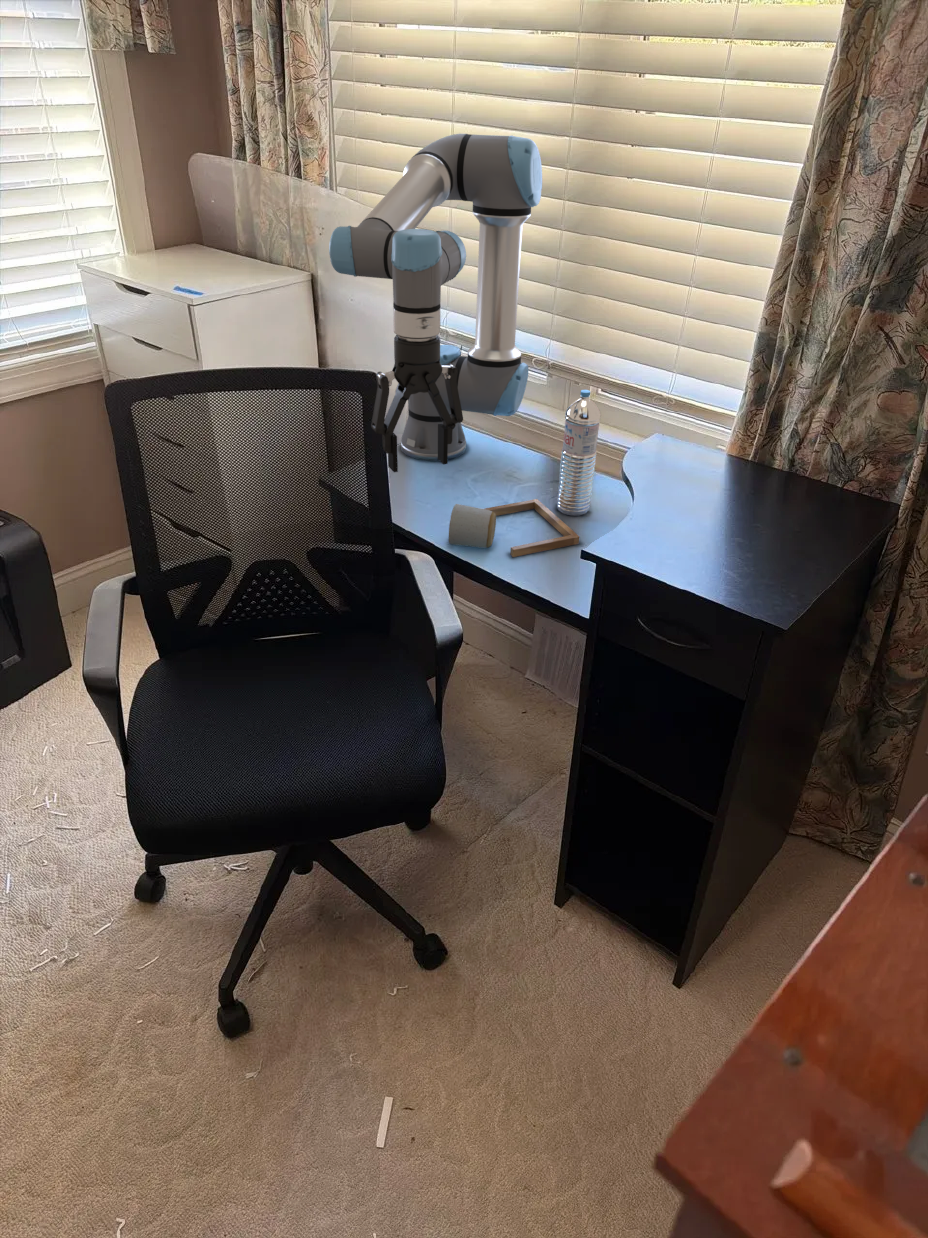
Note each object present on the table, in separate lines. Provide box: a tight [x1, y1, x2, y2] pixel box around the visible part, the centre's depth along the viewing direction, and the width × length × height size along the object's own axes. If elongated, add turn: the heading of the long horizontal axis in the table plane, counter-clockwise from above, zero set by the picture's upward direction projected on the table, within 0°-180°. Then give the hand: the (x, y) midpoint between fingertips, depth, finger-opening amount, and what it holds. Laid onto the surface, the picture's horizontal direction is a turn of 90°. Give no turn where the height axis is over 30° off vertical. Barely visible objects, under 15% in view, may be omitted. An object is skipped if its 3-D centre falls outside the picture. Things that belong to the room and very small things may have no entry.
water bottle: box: [556, 389, 602, 517], centre depth 169 cm, size 7×7×25 cm
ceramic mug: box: [448, 503, 497, 549], centre depth 162 cm, size 11×8×8 cm
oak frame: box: [483, 498, 580, 558], centre depth 167 cm, size 17×14×2 cm
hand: (418, 464), depth 150 cm, fingers open, 9 cm apart
